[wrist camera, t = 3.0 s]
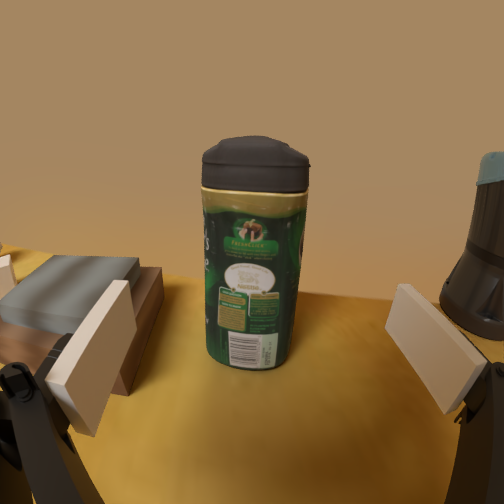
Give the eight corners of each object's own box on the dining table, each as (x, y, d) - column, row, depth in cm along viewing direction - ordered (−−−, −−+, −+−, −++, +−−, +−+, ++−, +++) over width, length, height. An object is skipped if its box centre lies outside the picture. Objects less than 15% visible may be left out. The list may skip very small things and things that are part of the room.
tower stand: (164, 296, 33) (160, 251, 31) (128, 396, 18) (108, 338, 16) (59, 289, 32) (50, 249, 30) (-3, 361, 17) (-26, 311, 15)
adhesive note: (17, 283, 32) (10, 254, 30) (18, 297, 29) (9, 264, 27) (-8, 291, 28) (-16, 261, 27) (-9, 305, 25) (-19, 273, 23)
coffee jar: (222, 309, 32) (224, 137, 25) (291, 318, 30) (310, 141, 24) (195, 367, 23) (185, 132, 16) (287, 380, 22) (317, 136, 15)
